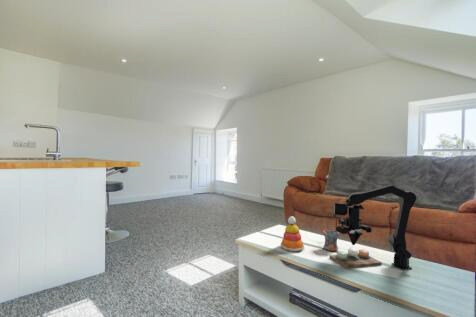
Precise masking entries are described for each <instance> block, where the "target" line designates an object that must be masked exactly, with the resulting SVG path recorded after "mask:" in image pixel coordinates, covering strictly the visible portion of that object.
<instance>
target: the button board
mask: <svg viewBox="0 0 476 317" xmlns="http://www.w3.org/2000/svg"><path fill="white" fill-rule="evenodd" d="M329 259H330V260H332V261H333V262H335V263H336V264H338V265H339V266H341V267H343V269H345V270H347V269H356V268H368V267H375V266H376V267H377V266H382V265H383V264H382V261H380V260H378V259H376V258H375V257H373V256H370V255H369V257H367V258H366V257H361V256H359V252H358V256H351V255H349V254H348V253H347V259H339V258H338V257H337V254H331V255H329Z"/></svg>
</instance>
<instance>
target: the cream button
mask: <svg viewBox="0 0 476 317" xmlns="http://www.w3.org/2000/svg"><path fill="white" fill-rule="evenodd" d="M358 253H359V249H356V248H353V247H351V248H348V249H347V254H349V255H351V256H358Z"/></svg>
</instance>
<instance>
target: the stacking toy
mask: <svg viewBox="0 0 476 317" xmlns="http://www.w3.org/2000/svg"><path fill="white" fill-rule="evenodd" d="M287 223H288V224H287V225H286V226H285V229H284V233H283V236H282V237H283V238H282V240H281V243H280V247H281V248H282V249H284V250H286V251H289V252H299V251H302V250H304V249H305V245H304V243H303V240H302V234H301V233H300V228H299V227H298V226H297V224H296V223H297V219H296V218H295V216H293V215H292V216H289V218H288V219H287Z"/></svg>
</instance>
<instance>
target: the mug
mask: <svg viewBox="0 0 476 317" xmlns="http://www.w3.org/2000/svg"><path fill="white" fill-rule="evenodd" d="M322 232H323V235H324V245H323V249H324V250H327V251H331V252H338V250H339V248H338V243H337V242H338V237H339V235H340V233H339V232H337V231H336V230H333V229H332V230H331V229H324V230H323V231H322Z"/></svg>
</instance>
